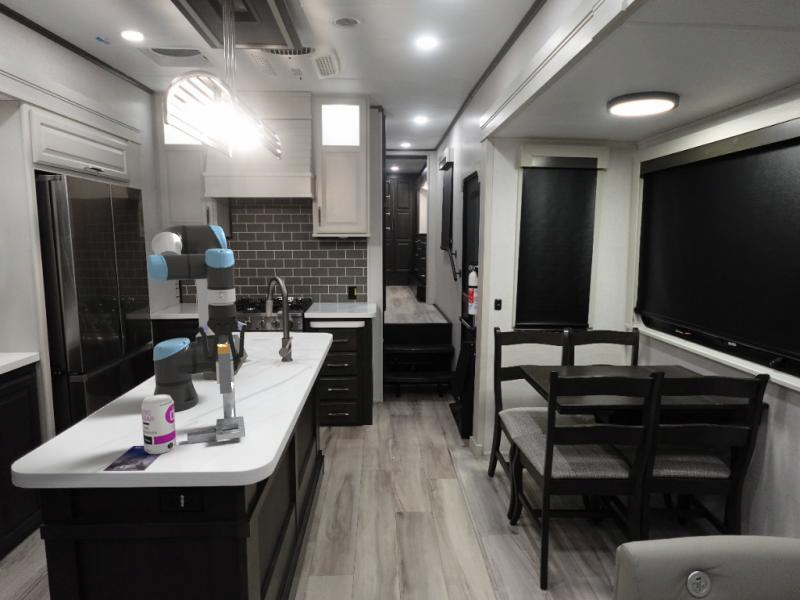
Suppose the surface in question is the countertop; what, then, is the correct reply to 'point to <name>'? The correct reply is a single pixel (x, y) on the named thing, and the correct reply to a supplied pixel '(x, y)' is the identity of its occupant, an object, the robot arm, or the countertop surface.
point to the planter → (239, 362)
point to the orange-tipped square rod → (224, 368)
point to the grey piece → (222, 423)
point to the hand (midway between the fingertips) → (225, 381)
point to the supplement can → (158, 424)
